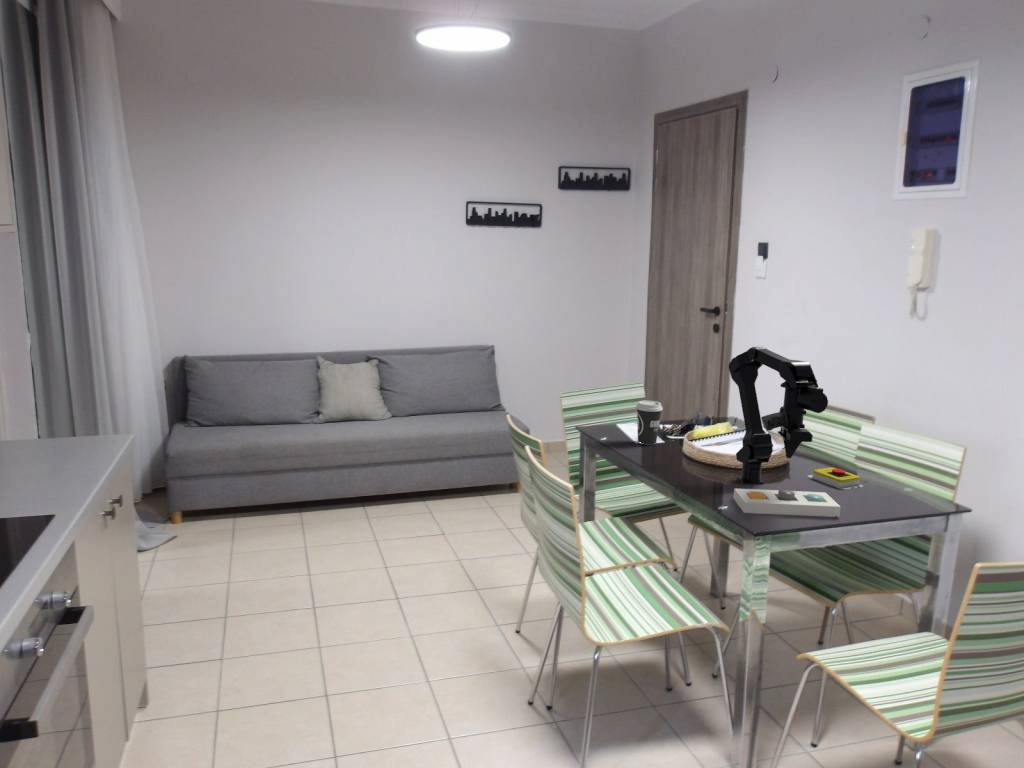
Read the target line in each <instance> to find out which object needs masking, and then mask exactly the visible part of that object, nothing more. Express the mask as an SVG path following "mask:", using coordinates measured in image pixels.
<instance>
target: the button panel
mask: <svg viewBox="0 0 1024 768" xmlns="http://www.w3.org/2000/svg"><path fill="white" fill-rule="evenodd" d="M733 489H734V490H733V500H734V501H735V503H736V504H737V505H738V506H739V508H740V510H741V511H742V513H744V514H758V515H759V514H761V515H763V514H764V515H784V516H785V515H787V516H805V517H826V518H827V517H829V518H830V517H831V518H841V517H840V516H841V505H840V504H838V503H837V502H836V501H835V500H834V498H832V497H831V496H830V495H829V494H828V493H827V492H825V491H823V492H821V491H819V492H818V491H803V490H802V491H801V490H799V491H797V490H792V491H793V492H794V493H795V497H794V501H788V500H779V499H778V491H779V490H780V489H779V490H777V489H776V490H775V489H758V488H757V489H756V488H755V489H753V488H733ZM750 492H762V493H764V494H766V498H765V499H750V498H749V493H750ZM808 494H817V495H820V496H822V497H823V502H811V501H807V500H806V498H807V495H808ZM835 516H837V517H835Z"/></svg>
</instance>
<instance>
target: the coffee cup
mask: <svg viewBox="0 0 1024 768" xmlns="http://www.w3.org/2000/svg"><path fill="white" fill-rule="evenodd" d="M635 409H636V412H637V413H636V416H637V417H636V418H637V419H636V420H637V424H636V425H637V442H638V441H639V442H641V443H644V444H654V443H656V444H657V439H658V433H659V428H660V427H659V426H660V421H661V416H662V415H661V414H662V411H663V410H664V409H663V406H662V403H661V402H659V401H655V400H640V401H638V403H637V404H636V405H635Z"/></svg>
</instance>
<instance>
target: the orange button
mask: <svg viewBox="0 0 1024 768" xmlns="http://www.w3.org/2000/svg"><path fill="white" fill-rule="evenodd" d="M749 498H750V499H765V498H766V494H764V493H762V492H750V493H749Z"/></svg>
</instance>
